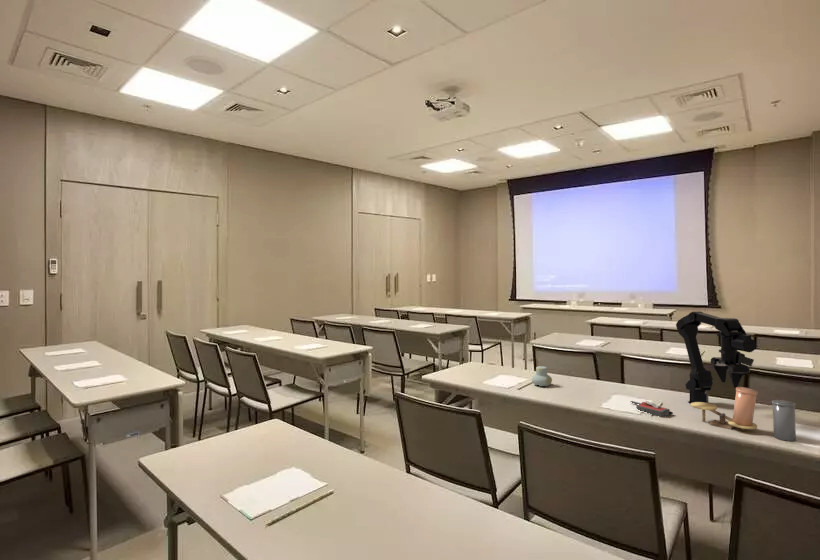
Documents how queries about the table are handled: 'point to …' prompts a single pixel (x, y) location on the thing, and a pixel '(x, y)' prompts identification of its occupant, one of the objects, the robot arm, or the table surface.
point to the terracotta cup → (744, 406)
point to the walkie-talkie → (653, 409)
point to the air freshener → (541, 377)
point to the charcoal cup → (784, 420)
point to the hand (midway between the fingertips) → (729, 385)
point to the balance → (722, 422)
